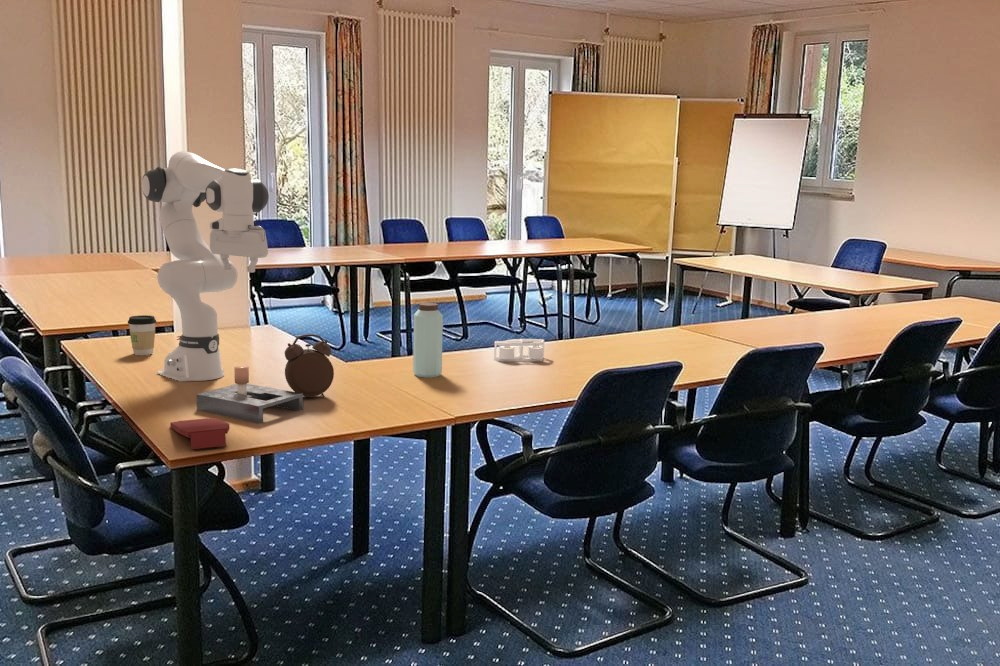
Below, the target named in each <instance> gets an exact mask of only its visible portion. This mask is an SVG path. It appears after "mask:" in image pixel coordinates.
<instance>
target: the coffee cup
mask: <svg viewBox="0 0 1000 666" xmlns="http://www.w3.org/2000/svg"><path fill="white" fill-rule="evenodd" d="M156 323H157V319H156V318H155V316H154V315H147V314H145V315H144V314H142V315H132V316H130V317H129V318H128V320H127V324H128V326H129V335H130V341H131V342H130V343H131V347H132V351H133V355H134V354H135V355H134V356H137V355H146V356H149V355H148V354H152V353H153V354H154V347H155V340H156V339H155V337H156ZM153 354H152V355H153Z"/></svg>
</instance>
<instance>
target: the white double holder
mask: <svg viewBox="0 0 1000 666" xmlns="http://www.w3.org/2000/svg"><path fill="white" fill-rule="evenodd" d="M497 346H498V347H499V349H498V350H499V351H498V352H499V353H498V355H499V356H498V357H497ZM516 346H518V354H515V347H516ZM524 347H528V348H527V350H528V352H527V354H524ZM493 351H494V353H493V354H494V356H493V357H494V358H493V361H496V362H505V363H506V362H530V363H531V362H543V360H544V357H545V339H543V338H542V339H540V338H539V339H537V338H516V339H515V338H513V339H506V340H495V341H494V348H493Z"/></svg>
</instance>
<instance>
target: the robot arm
mask: <svg viewBox="0 0 1000 666" xmlns="http://www.w3.org/2000/svg"><path fill="white" fill-rule="evenodd" d="M141 189H142V193H143V196H144V197H145V198H146V200H148V201H151V202H153V203H154V202H155V203H160V202H162V203H165V204H163V205H162V206H161V208H160V210H159V211H160V212H159V218H160V222H161V223H160V224H161V228H162V232H163V234H164V238H165V240H166V242H167V246H168V248H169V251H170V253H171V254H172V255H173V256H174V257H175V258H177V259H178V260H177V259H176V260H173V261H168V262H164V263H163V264H161V266H160V268H159V269H158V272H157V277H156V278H157V283H158V285H159V287H160V288H161V290H162V291H163V292H164V293H166V294H168V295H169V296H170V297H171V298H172V299H173V300H174V302H175V303H176V305H177V307H178V309H179V312H180V317H181V331H182V333H181V335H178V336H177V339H176V340H177V341H178V340H179V342H178V345H177V347H175V349H173V350H172V351H171V352H170V353H168V354H167V355H166V356H165V358H164V361H163V362H164V363H163V365H164V366H163V367H164V368H163V369H159V370H158V371H157V372H156V375H157V374H160V375H163V376H166V377H169V378H172V379H171V380H173V379H175V380H174V381H176V380H178V381H177V382H192V381H193V382H196V381H198V382H200V381H201V382H202V381H211V380H216V379H220V378H223V377H224V376H225V374H224V371H225V370H224V368H223V366H222V358H221V357H222V356H221V351H220V349H219V346H220V335H219V333H218V313H217V311H216V309H215V308H214V307H213V306H211V305H210V304H207V303H205V302H203V301H202V300H201V297H200V294H204V293H219V292H223V291H226V290H227V291H228V290H231V289H232V288H234V287H235V285H236V283H237V281H238V270H237V267H236V265H235V264H234V263H233V261H231V260H229V258H230V256H233V257H246V258H249V261H250V262H249V265H247V266H246V269H247V270H246V271H247V273H255V272H256V266H257V264H258V262H259V259H262V258H267V256H268V254H269V249H268V248H269V247H268V240H267V236H266V230H265V229H264V228H263V227H262V225H261V226H260V225H255V224H254V223H255V222H254V221H255V220H254V215H255V214H254V213H260V212H261V211H263V210H264V208H265V207H266V206H267V204H268V203H269V199H270V198H269V191H268V189H267V187H266V185H265V184H264V183H263V182H262V181H261V180H260V179H252V175H251V173H250V171H247V170H245V169H242V168H227V169H226V168H223V167H221V166H218V165H216V164H214V163H212V162H210V161H208V160H206V159H205V158H203V157H202V156H199V155H198V154H197V153H194V152H190V151H185V150H184V151H183V150H181V151H177V152H175V153H173V154H172V156H171V157H170V158H169V160H168V165H167V167H165V168H164V167H163V168H162V167H161V166H158V167H156V168H154V169H151V170H148V171H146V173H144V174H143V176H142V179H141ZM203 202H205V203H206V205H207V206H208V207H209V209H211V210H213V211H214V212H220V213H221V212H222V218H220V219H216V220H213V221H211V222H210V223H209V228H210V230H211V231H210V234H209V245H208V244H207V243H206V241H205V239H204V237H203V235H202V232H201V231H200V228H199V226H198V223H197V221H196V219H195V215H194V214H193V207H194V208H200V206H201V204H202V203H203ZM160 375H159V376H160ZM163 376H162V377H163ZM166 377H165V378H166ZM169 378H168V379H169Z"/></svg>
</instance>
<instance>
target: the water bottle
mask: <svg viewBox="0 0 1000 666" xmlns="http://www.w3.org/2000/svg"><path fill="white" fill-rule="evenodd" d="M438 309H439V303H435V302H434V303H433V302H422V303H421V302H419V303H418V308H417V310H416V311H415V313H414V314H413V358H412V360H413V361H412V372H413V374H414V375H415V376H416V377H420V378H426V379H428V378H430V379H431V378H437V377H439V376H441V375H442V373H443V331H444V330H443V324H444V322H443V321H444V315H443V314H442V313H441V312H440V311H439V310H438Z"/></svg>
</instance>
